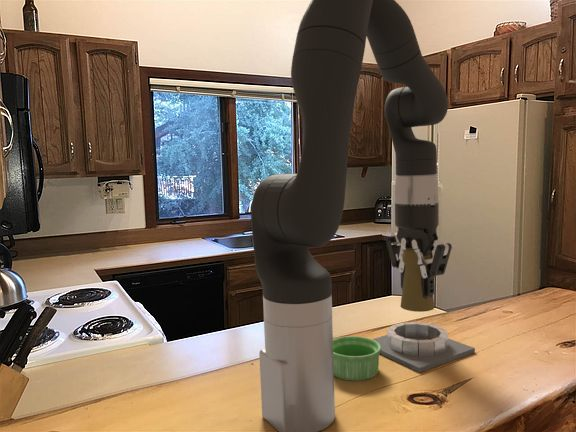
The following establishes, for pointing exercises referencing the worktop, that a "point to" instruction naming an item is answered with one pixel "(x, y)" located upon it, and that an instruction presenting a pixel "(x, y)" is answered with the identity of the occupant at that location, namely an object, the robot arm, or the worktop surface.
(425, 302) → the cork
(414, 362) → the fitting mat
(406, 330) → the ring collar
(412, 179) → the robot arm
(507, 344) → the worktop surface
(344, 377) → the ramekin
